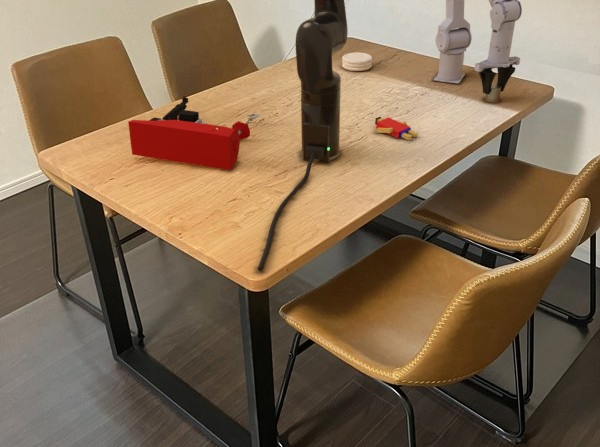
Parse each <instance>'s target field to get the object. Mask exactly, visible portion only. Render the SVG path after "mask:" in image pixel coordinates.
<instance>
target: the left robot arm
mask: <svg viewBox="0 0 600 447" xmlns="http://www.w3.org/2000/svg"><path fill="white" fill-rule="evenodd" d="M313 1H314V2H313V3H314V9H313V10H314V12H313V14H314V15H313V16H312V17H311V18H308V19H306V20H304V21H303V22H301V24H300V25H299V26H298V27H297V30H296V34H295V59H296V60H295V62H296V72H297V76H298V78H299V81H300V95H301V96H300V116H301V117H300V118H301V120H300V121H301V124H300V125H301V130H300V131H301V153H300V154H301V156H302V158H303V159H302V160H303V161H308V162H307V165H306V168H305V169H306V170H305V173H304V176H303V178H302V179H301V180H300V181H299V183H298V184H296V186H295V187H294V188H293V190H291V191H290V193H289V194H288V195H287V196H286V197H285V198H284V200H282V202H281V203H280V205H279V206H278V208H277V210H276V211H275V213H274V216H273V218H272V220H271V224H270V226H269V230H268V235H267V239H266V243H265V246H264V249H263V252H262V255H261V258H260V261H259V264H258V266H257V270H258V271H259V272H262V271H263V270H264V267H265V264H266V262H267V259H268V256H269V254H270V250H271V246H272V242H273V237H274V233H275V229H276V227H277V223H278V220H279V218H280V216H281V214H282V212H283V210H284V208H285V207H286V206H287V204H288V203H289V202H290V201H291V199H292V198H293V197H294V196H295V195H296V194H297V192H298V191H299V190H300V189H301V188H302V187H303V186H304V185H305V184H306V182H307V181H308V179H309V176H310V174H311V170H312V165H313V163H314V162H315V163H324V164H328V163H330V162H332V161H334V160H337V159H338V158H339V157H340V154H341V153H340V152H341V150H340V132H341V131H340V130H341V125H340V124H341V89H342V88H341V87H342V85H341V84H342V78H341V75H340V73H339V72H337V71H335V70H334V69H333V56H335V55H336V54H338V53H340V52H341V51H342V50H343V49H344V48H345V46H346V44H347V41H348V36H349V34H348V33H349V32H348V31H349V30H348V19H347V12H346V3H345V0H313Z"/></svg>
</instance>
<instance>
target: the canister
mask: <svg viewBox="0 0 600 447" xmlns="http://www.w3.org/2000/svg"><path fill="white" fill-rule="evenodd" d="M501 93H502V92H501V86H500V85H497V83H492V86H491V91H490V94H488V95H487V94H485V97H484V101H485V102H487V103H489V104H491V103H492V104H495V103H499V102H500V97H501Z"/></svg>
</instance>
